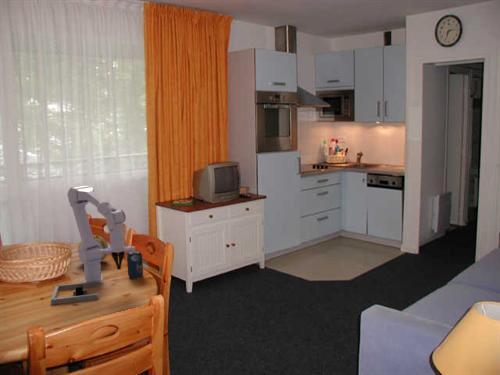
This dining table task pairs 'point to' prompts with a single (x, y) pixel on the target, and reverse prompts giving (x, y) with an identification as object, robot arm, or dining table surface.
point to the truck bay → (74, 298)
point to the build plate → (79, 290)
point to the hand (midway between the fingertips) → (119, 268)
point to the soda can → (135, 264)
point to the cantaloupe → (102, 244)
